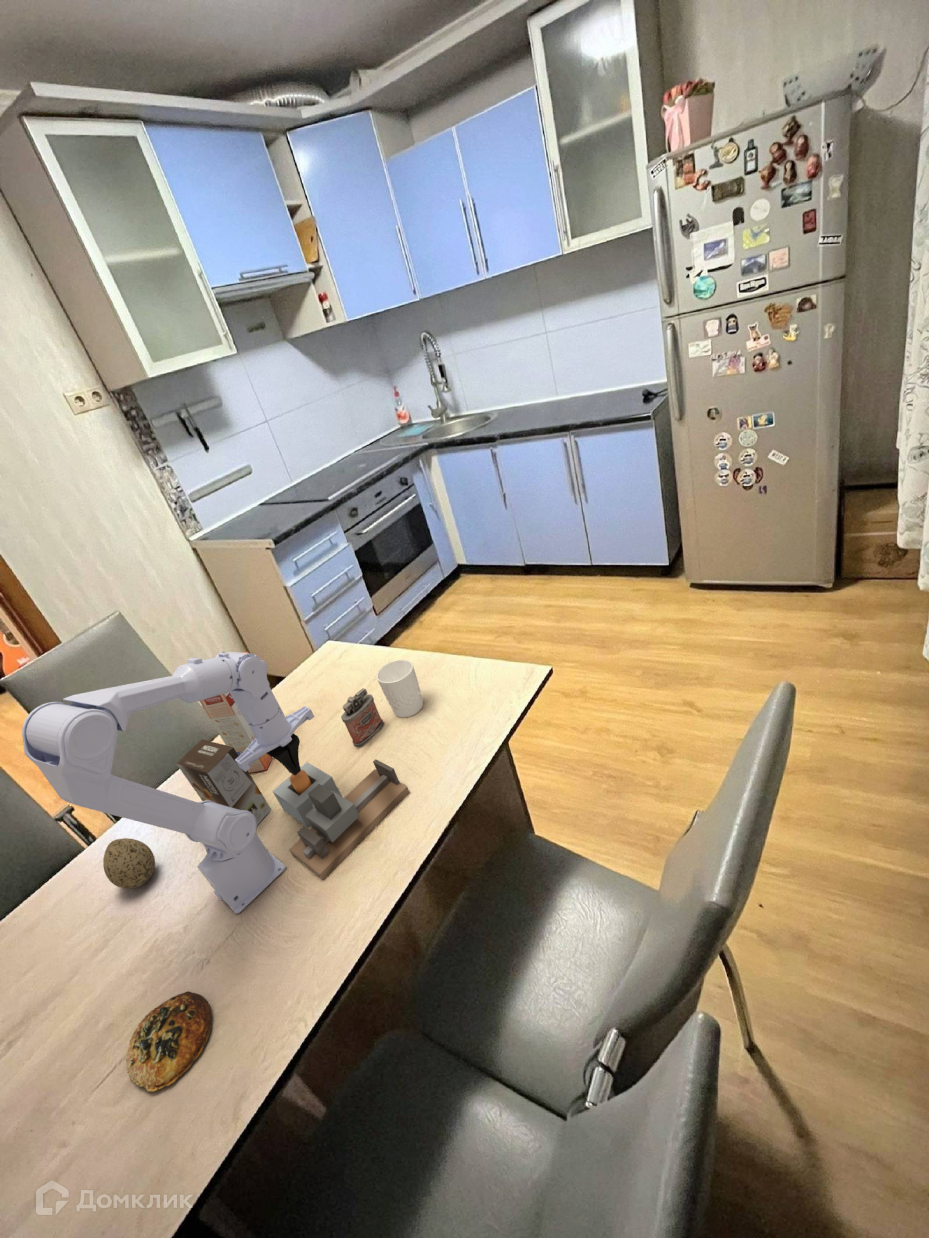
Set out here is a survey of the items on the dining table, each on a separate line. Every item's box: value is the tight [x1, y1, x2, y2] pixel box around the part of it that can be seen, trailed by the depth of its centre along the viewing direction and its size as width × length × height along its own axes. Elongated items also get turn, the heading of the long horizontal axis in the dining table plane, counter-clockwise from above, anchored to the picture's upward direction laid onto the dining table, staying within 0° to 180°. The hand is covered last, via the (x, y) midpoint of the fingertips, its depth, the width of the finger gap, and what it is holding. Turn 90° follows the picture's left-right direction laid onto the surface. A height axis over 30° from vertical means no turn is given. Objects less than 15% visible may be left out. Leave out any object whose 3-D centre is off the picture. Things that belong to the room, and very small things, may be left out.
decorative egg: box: [103, 837, 156, 890], centre depth 97 cm, size 7×7×10 cm
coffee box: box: [176, 739, 272, 826], centre depth 103 cm, size 9×6×16 cm
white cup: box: [376, 658, 424, 718], centre depth 121 cm, size 8×8×10 cm
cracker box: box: [199, 651, 273, 774], centre depth 118 cm, size 14×6×21 cm, turn 179°
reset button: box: [289, 770, 312, 796], centre depth 103 cm, size 3×3×4 cm
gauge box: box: [272, 761, 342, 828], centre depth 104 cm, size 8×8×5 cm
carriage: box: [305, 784, 360, 843], centre depth 94 cm, size 6×6×7 cm
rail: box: [288, 759, 410, 881], centre depth 98 cm, size 20×9×5 cm, turn 139°
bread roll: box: [125, 991, 213, 1092], centre depth 74 cm, size 11×11×5 cm
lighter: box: [340, 687, 385, 748], centre depth 116 cm, size 8×3×10 cm, turn 143°
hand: (295, 771), depth 101 cm, fingers closed
